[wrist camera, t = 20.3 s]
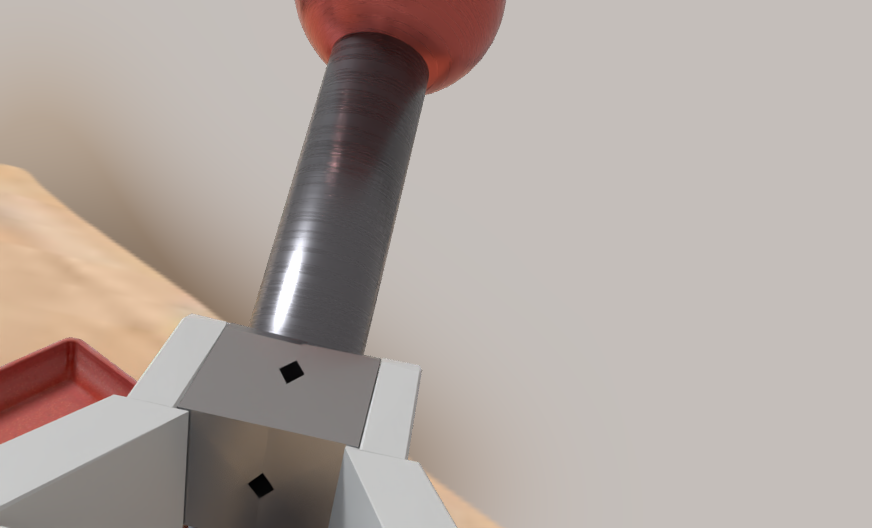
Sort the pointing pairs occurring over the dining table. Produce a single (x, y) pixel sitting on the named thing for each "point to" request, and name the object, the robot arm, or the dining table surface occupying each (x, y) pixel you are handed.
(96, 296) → the dining table surface
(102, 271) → the dining table surface
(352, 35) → the lever
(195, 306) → the dining table surface
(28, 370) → the plant saucer
